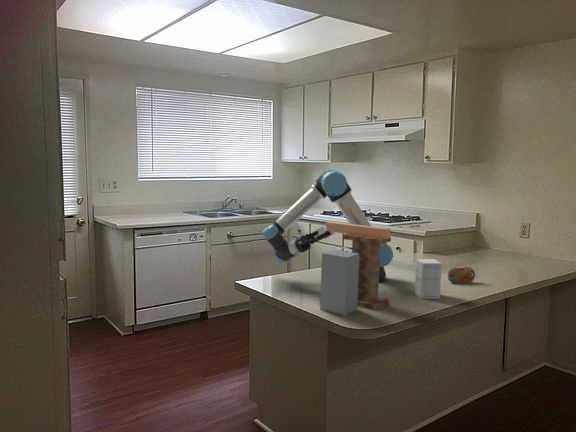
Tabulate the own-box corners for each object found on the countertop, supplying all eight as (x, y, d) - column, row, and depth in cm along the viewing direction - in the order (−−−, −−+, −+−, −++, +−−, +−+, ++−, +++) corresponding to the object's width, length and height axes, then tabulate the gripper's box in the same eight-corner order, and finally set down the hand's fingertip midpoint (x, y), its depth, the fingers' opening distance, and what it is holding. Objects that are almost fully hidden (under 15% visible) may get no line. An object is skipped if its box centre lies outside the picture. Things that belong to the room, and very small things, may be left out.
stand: (339, 301, 215) (341, 234, 211) (353, 295, 224) (355, 231, 220) (375, 310, 204) (378, 239, 200) (388, 303, 213) (391, 236, 209)
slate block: (320, 309, 203) (321, 253, 200) (333, 303, 211) (335, 249, 208) (344, 315, 196) (346, 257, 193) (357, 309, 203) (359, 253, 200)
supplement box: (433, 293, 231) (435, 258, 229) (440, 299, 222) (442, 263, 220) (413, 293, 231) (415, 258, 229) (419, 298, 222) (421, 262, 220)
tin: (449, 284, 249) (450, 268, 248) (446, 282, 252) (447, 267, 251) (474, 283, 253) (475, 267, 252) (471, 281, 256) (472, 266, 255)
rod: (325, 230, 221) (326, 222, 220) (330, 230, 224) (331, 221, 223) (385, 239, 202) (386, 229, 202) (389, 237, 206) (390, 228, 205)
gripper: (317, 249, 242) (350, 232, 229) (286, 256, 222) (320, 238, 210) (312, 235, 243) (343, 217, 231) (280, 241, 224) (313, 222, 211)
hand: (332, 227), depth 220 cm, fingers open, 13 cm apart
